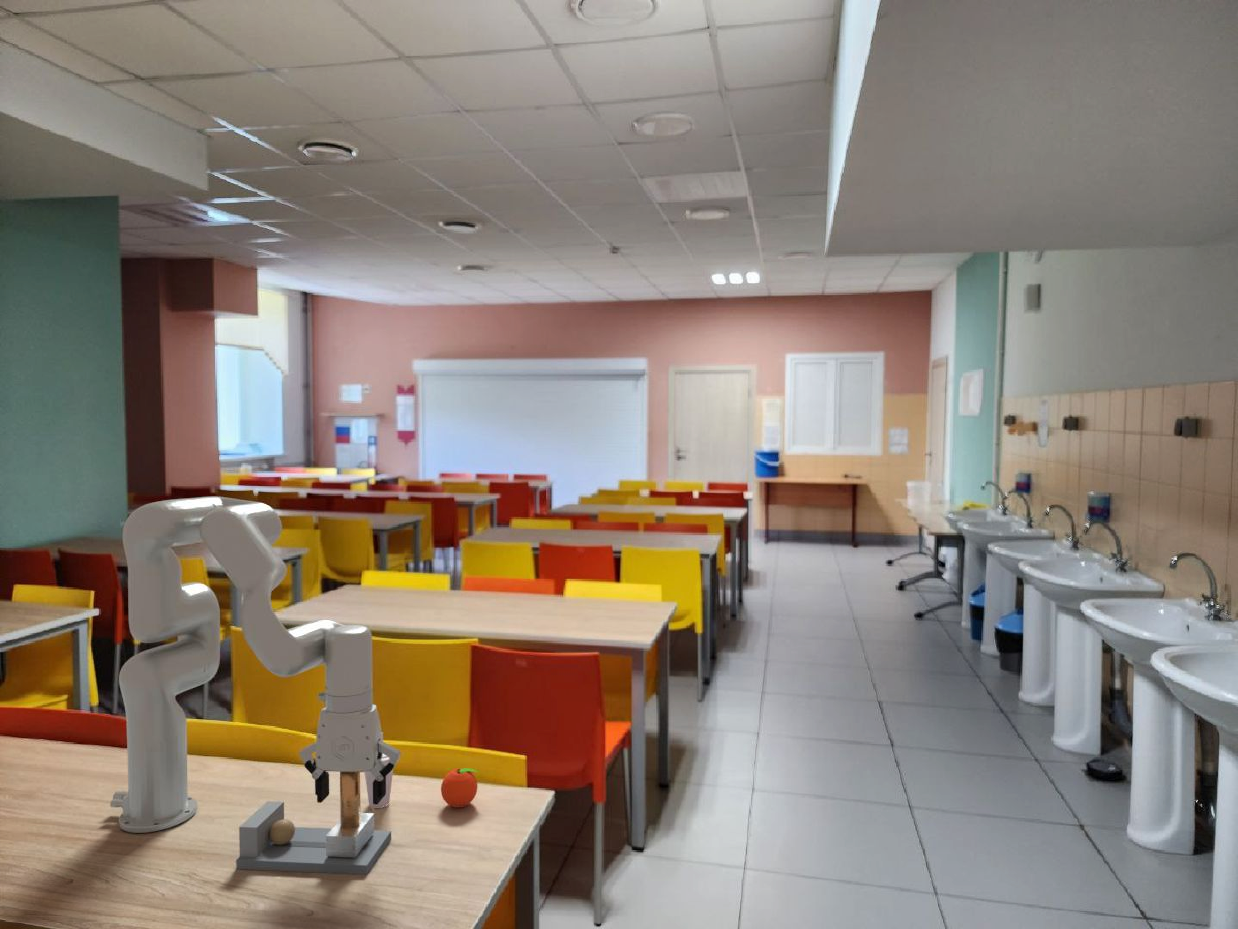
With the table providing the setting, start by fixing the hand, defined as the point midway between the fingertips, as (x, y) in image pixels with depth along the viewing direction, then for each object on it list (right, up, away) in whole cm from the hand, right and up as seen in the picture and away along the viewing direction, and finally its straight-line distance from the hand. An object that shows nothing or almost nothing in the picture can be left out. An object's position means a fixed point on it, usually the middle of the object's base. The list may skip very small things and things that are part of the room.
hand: (350, 800), depth 131 cm
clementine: (+15, -9, +18) cm, 25 cm away
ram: (0, -8, 0) cm, 8 cm away
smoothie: (-1, -9, +19) cm, 21 cm away
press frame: (-6, -9, +1) cm, 11 cm away
